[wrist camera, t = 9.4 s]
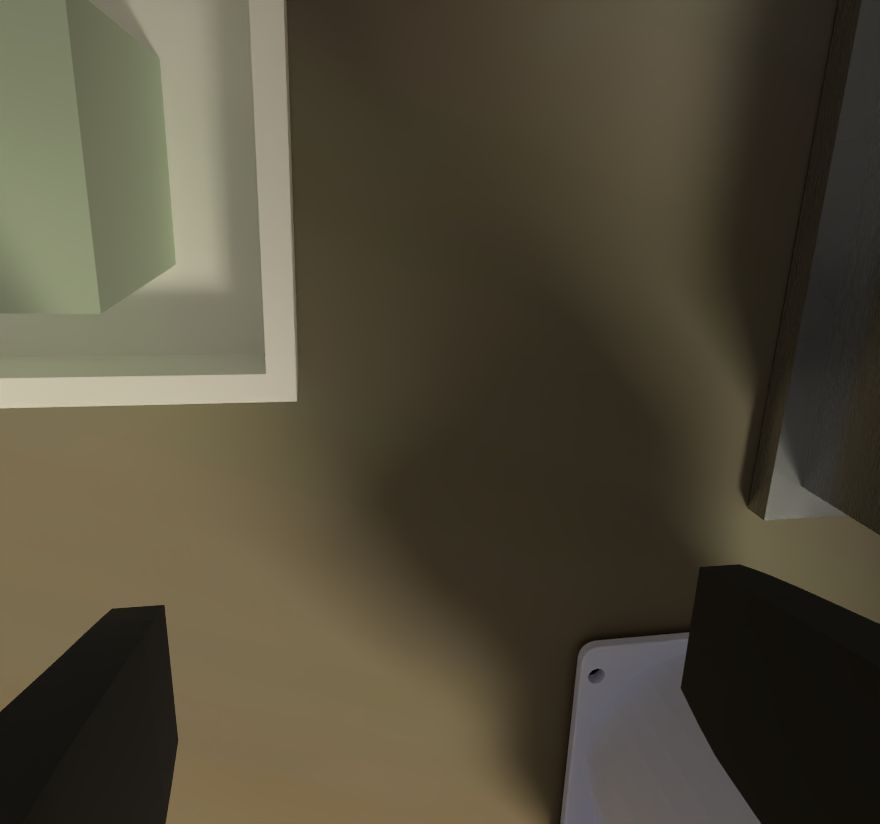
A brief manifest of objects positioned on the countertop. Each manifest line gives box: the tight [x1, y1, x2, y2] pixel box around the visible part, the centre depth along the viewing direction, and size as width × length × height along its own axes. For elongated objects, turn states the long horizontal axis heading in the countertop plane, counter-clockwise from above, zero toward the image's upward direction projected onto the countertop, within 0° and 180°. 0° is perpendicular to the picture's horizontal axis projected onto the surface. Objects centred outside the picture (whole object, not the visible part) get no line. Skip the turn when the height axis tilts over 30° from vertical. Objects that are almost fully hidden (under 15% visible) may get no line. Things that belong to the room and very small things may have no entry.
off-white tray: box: [0, 0, 298, 408], centre depth 14 cm, size 9×9×3 cm
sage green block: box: [0, 0, 176, 314], centre depth 12 cm, size 4×4×6 cm
